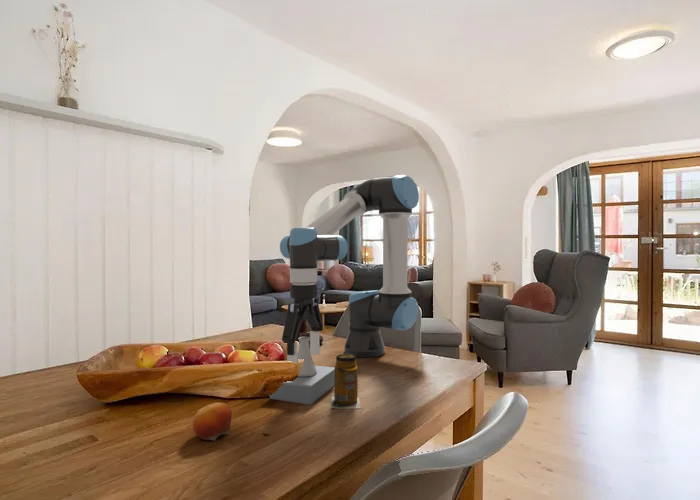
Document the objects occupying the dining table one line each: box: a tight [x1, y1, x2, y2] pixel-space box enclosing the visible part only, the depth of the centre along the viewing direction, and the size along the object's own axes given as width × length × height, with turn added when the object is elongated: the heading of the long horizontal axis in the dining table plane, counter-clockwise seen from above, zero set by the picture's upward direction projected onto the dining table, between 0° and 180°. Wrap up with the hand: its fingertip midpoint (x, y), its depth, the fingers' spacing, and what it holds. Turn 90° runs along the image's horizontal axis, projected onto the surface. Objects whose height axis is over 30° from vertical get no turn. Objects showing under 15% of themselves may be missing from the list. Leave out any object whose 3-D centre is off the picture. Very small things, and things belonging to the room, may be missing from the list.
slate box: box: [269, 364, 335, 406], centre depth 119 cm, size 17×13×5 cm
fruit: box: [192, 401, 233, 442], centre depth 92 cm, size 8×8×8 cm
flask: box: [298, 337, 317, 377], centre depth 119 cm, size 7×7×10 cm
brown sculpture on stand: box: [293, 300, 324, 345], centre depth 175 cm, size 15×15×20 cm
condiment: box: [330, 353, 361, 410], centre depth 111 cm, size 7×8×12 cm
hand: (304, 359), depth 119 cm, fingers open, 13 cm apart
